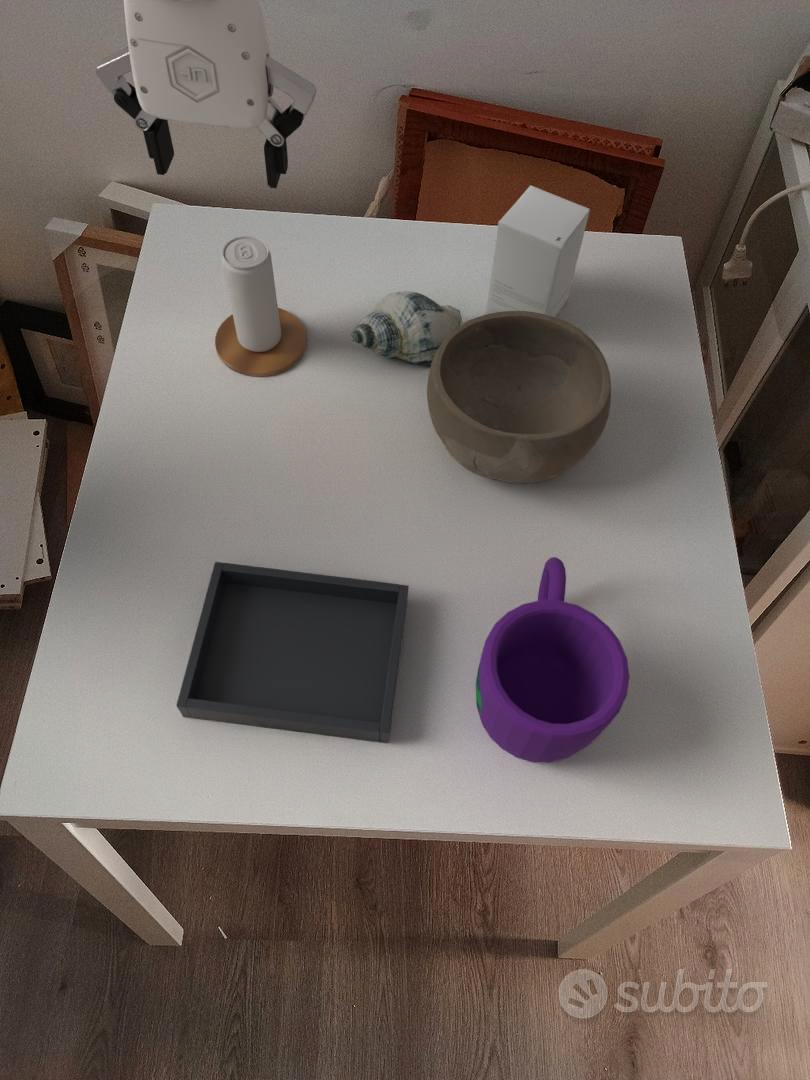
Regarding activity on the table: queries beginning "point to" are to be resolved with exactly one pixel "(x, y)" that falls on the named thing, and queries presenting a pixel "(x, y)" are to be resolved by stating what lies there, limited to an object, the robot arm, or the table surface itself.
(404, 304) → the seashell
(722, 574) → the table surface
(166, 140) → the robot arm
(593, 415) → the bowl
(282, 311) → the copper pad
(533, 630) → the mug
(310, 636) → the tray
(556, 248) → the white packaging box
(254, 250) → the beverage can
